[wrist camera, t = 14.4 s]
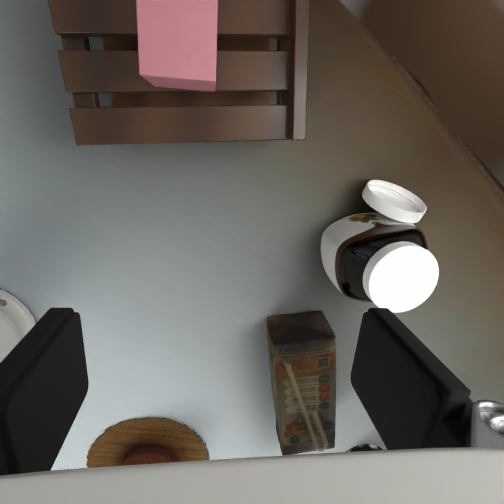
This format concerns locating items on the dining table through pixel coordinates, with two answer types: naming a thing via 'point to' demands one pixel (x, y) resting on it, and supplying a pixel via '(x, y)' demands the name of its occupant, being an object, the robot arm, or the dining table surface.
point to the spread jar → (381, 251)
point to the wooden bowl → (146, 444)
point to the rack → (183, 100)
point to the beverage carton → (303, 381)
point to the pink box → (178, 43)
